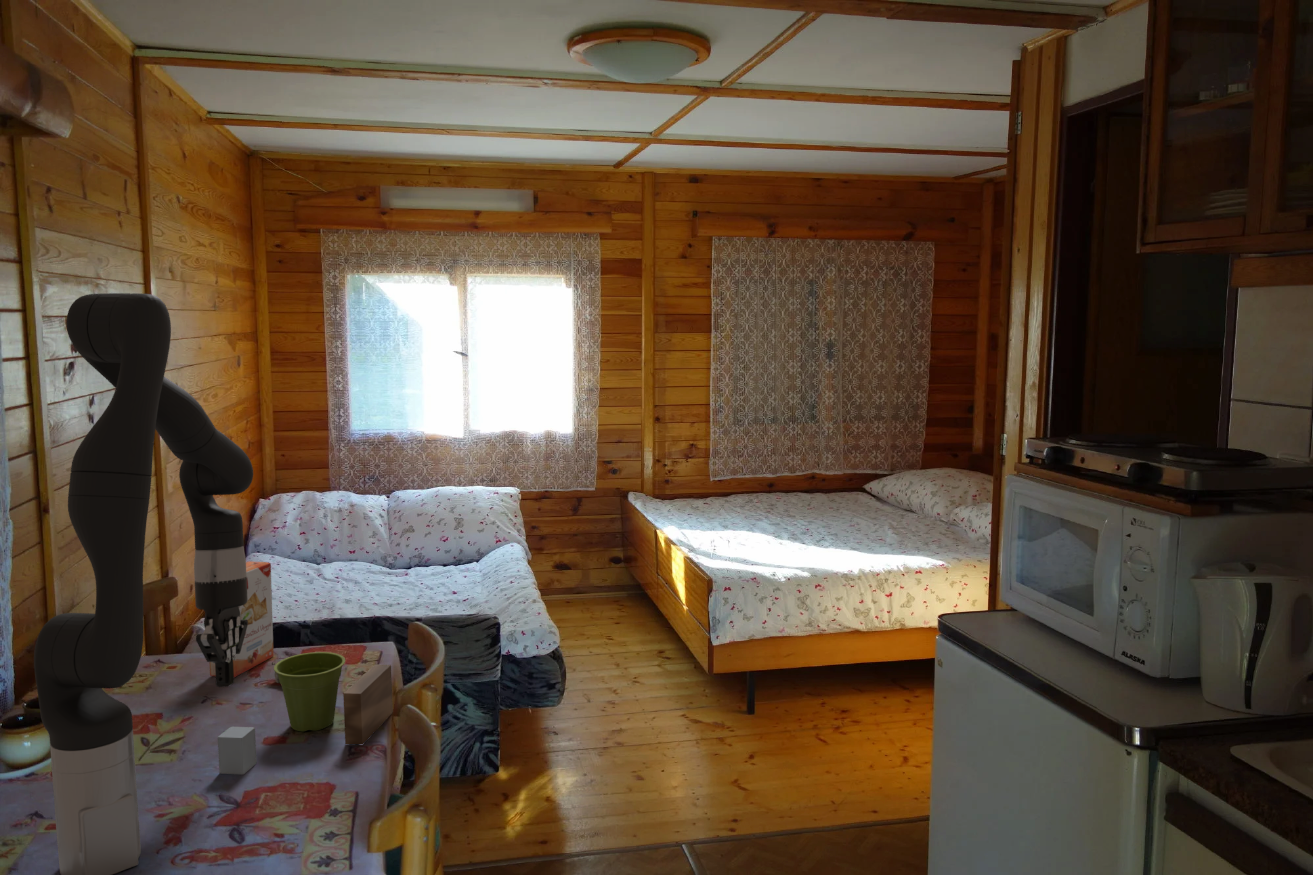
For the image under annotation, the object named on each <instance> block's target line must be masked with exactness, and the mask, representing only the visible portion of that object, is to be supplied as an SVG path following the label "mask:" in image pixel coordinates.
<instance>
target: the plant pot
mask: <svg viewBox="0 0 1313 875" xmlns="http://www.w3.org/2000/svg"><path fill="white" fill-rule="evenodd" d="M345 664H346V658H345V657H344V655H341V654H339V653H336V652H330V651H329V652H328V651H316V652H313V651H312V652H307V653H306V652H305V653H300V654H295V655H291V656H289V657H285V658H283V659H281V660H279V661H278V662H277V663H276V665H274V666H273V671H274V673H275V672H276V673H277V674H278V677H279V681H280V683H279V684H280V685H281V688H282V693H283V697H284V703H285V705H286V711H287V715H288V720H289V724H290V728H291V729H293V730H294V731H297V732H307V731H314V732H315V731H320V730H323V729H325V728H328V727H330V726H331V725H332V724H333V722H334V720H335V714H336V708H337V699H338V691H339V683H340V678H341V675H342V668H343V666H344V665H345Z"/></svg>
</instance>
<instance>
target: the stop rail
mask: <svg viewBox="0 0 1313 875" xmlns="http://www.w3.org/2000/svg"><path fill="white" fill-rule="evenodd" d="M392 680H393V679H392V664H380V663H379V664H377V663H376V664H374V665H373V666H372V667H371V668H370V669H369V670H366V672H365V673H364V674H363V675H362V676H361V677H359V679H357V680H356V681H355V682H354V683H353V684H352V685H351V686H350V687H348V689H346V690H345V691H344V692H343V695H342V696H343V697H342V698H343V718H344V741H345V742H344V744H363V743H364V742H365V741H366V740H367V739H368V738H369V737H370V736H371V735H372V734H373V735H374V733H375V732H377V730H378V729H379V728H380V727H381V726H382V725H383V723H385V721H386V720H388V719H389V717H390V716H391V715H392V714H393V712H394V711H393V710H394V709H393V707H394V706H393V684H392ZM373 732H374V733H373ZM373 735H372V736H373ZM372 736H371V737H372ZM371 737H370V738H371ZM370 738H369V739H370ZM369 739H368V740H369ZM368 740H367V741H368ZM367 741H366V742H367ZM366 742H365V743H366ZM365 743H364V744H365ZM364 744H363V745H364Z"/></svg>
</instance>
